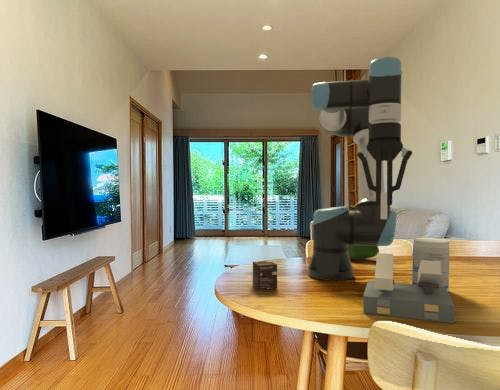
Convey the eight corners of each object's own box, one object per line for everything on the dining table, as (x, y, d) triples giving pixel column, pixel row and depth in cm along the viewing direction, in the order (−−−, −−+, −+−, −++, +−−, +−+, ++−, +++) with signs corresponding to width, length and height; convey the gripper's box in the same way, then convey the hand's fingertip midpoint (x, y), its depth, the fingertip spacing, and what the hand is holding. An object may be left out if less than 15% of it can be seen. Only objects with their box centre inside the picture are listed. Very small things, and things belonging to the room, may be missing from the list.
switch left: (374, 289, 87) (374, 277, 87) (377, 263, 100) (377, 253, 99) (392, 290, 86) (392, 279, 85) (393, 264, 98) (393, 253, 98)
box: (258, 290, 107) (257, 265, 107) (252, 285, 112) (252, 261, 112) (277, 289, 108) (277, 264, 108) (271, 284, 114) (271, 260, 114)
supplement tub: (406, 286, 111) (406, 237, 111) (435, 285, 112) (436, 237, 111) (424, 295, 101) (424, 242, 101) (456, 294, 102) (457, 241, 102)
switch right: (421, 273, 83) (420, 260, 84) (417, 284, 95) (417, 272, 96) (440, 274, 82) (440, 261, 83) (435, 285, 94) (434, 274, 95)
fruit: (383, 260, 152) (383, 236, 151) (372, 264, 144) (372, 238, 144) (349, 256, 162) (349, 233, 162) (338, 259, 154) (338, 235, 154)
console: (363, 313, 87) (363, 285, 87) (368, 294, 102) (368, 271, 102) (454, 323, 80) (454, 293, 80) (444, 302, 95) (445, 276, 95)
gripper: (355, 123, 89) (355, 219, 90) (414, 119, 85) (413, 221, 86) (358, 127, 96) (358, 216, 97) (412, 123, 92) (411, 217, 93)
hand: (383, 218), depth 91 cm, fingers closed
